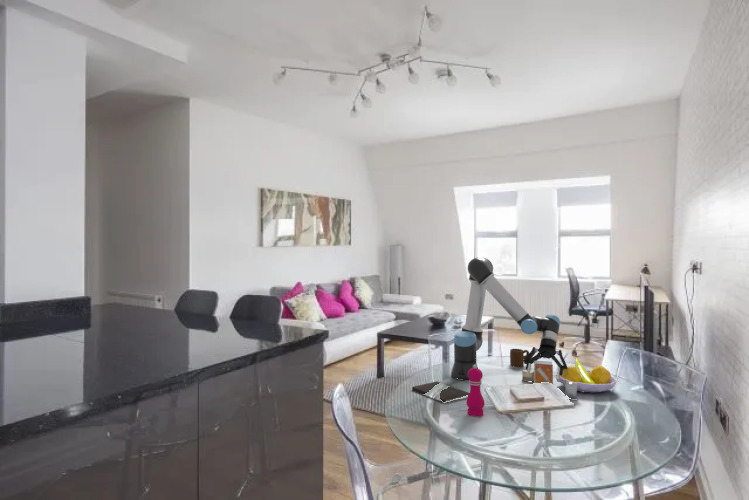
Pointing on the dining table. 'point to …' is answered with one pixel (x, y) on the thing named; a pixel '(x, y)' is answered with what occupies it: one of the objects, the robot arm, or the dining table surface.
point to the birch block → (531, 377)
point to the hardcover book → (445, 394)
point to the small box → (543, 372)
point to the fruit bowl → (588, 378)
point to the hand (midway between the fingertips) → (542, 378)
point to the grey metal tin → (571, 389)
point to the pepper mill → (475, 392)
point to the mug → (517, 357)
